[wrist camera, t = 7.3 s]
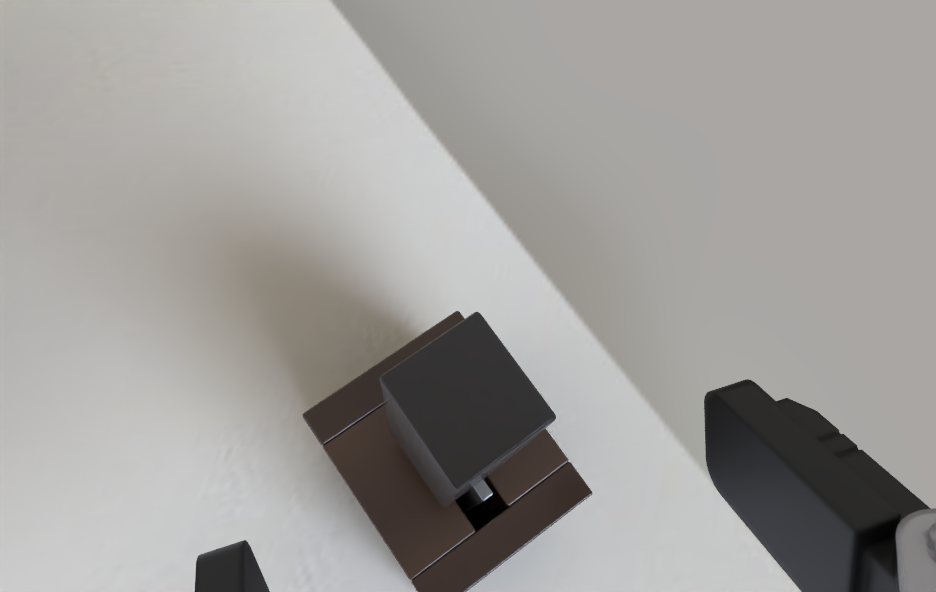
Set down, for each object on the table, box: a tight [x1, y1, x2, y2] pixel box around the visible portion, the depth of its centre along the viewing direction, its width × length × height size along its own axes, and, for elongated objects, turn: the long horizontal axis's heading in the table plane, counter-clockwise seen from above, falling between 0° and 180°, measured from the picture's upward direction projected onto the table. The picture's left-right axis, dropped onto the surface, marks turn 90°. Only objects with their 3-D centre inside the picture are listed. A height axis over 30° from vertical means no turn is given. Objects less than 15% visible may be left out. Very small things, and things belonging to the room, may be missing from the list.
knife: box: [380, 312, 556, 513], centre depth 19 cm, size 3×2×14 cm, turn 36°
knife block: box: [303, 311, 592, 592], centre depth 23 cm, size 6×5×6 cm
